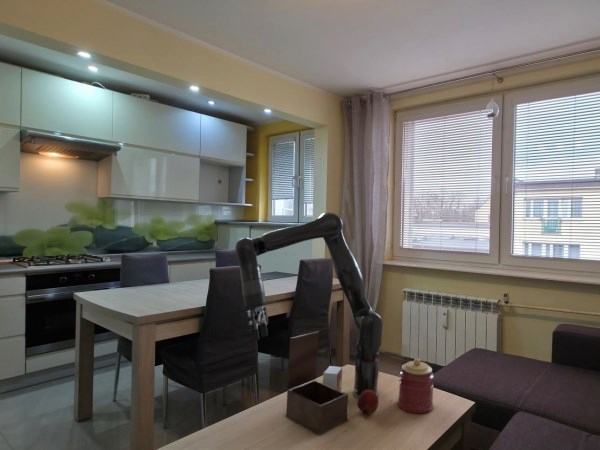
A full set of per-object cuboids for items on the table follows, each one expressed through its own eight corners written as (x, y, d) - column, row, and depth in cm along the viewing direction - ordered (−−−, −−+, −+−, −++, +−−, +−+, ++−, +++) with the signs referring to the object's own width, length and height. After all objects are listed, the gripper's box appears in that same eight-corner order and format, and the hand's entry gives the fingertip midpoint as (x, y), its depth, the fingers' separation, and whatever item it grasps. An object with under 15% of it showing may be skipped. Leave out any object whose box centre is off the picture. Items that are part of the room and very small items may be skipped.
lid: (319, 331, 140) (317, 331, 140) (291, 338, 130) (290, 337, 131) (315, 379, 140) (314, 378, 141) (288, 389, 130) (286, 388, 131)
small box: (335, 402, 142) (337, 374, 142) (321, 400, 143) (323, 372, 143) (341, 393, 150) (342, 367, 150) (328, 391, 151) (329, 365, 151)
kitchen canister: (404, 395, 151) (406, 350, 151) (436, 402, 146) (438, 357, 146) (392, 408, 140) (395, 360, 140) (427, 417, 134) (429, 367, 134)
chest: (347, 420, 130) (348, 394, 130) (319, 434, 120) (320, 406, 120) (313, 403, 140) (314, 379, 140) (286, 416, 131) (287, 390, 131)
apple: (382, 414, 135) (383, 391, 135) (365, 420, 130) (366, 397, 130) (369, 406, 141) (370, 384, 141) (352, 411, 136) (353, 389, 136)
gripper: (256, 291, 129) (263, 340, 127) (270, 290, 143) (277, 333, 141) (235, 296, 129) (242, 344, 127) (251, 293, 143) (257, 337, 141)
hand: (260, 338), depth 134 cm, fingers open, 8 cm apart
